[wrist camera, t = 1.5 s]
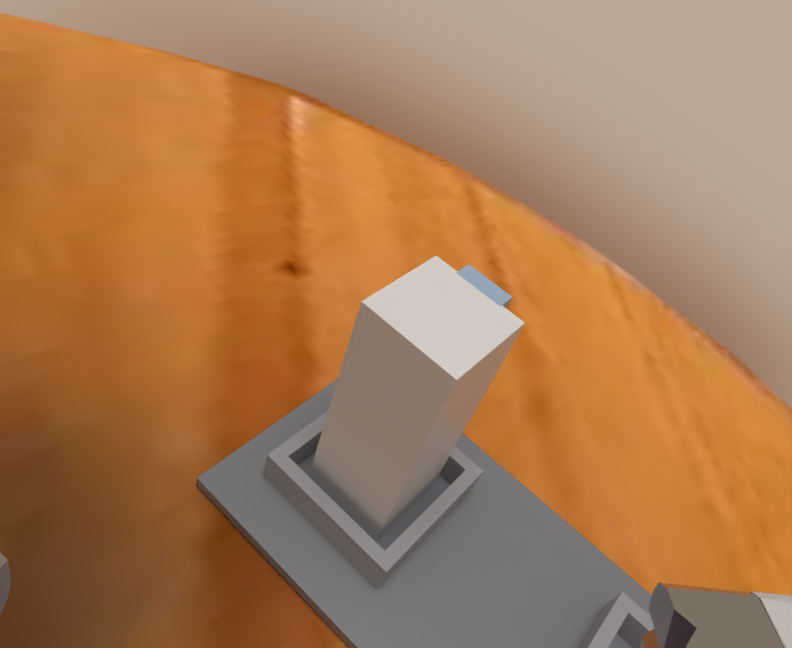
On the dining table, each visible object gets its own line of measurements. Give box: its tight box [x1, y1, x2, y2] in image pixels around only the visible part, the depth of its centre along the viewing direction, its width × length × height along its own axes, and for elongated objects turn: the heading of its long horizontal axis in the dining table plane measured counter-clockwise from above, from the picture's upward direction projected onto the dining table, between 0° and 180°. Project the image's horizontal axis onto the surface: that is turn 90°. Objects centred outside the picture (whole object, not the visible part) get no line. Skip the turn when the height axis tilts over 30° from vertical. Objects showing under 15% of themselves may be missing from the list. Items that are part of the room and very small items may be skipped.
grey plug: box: [308, 256, 525, 542], centre depth 26 cm, size 4×5×11 cm
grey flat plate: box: [196, 379, 654, 648], centre depth 27 cm, size 24×11×2 cm, turn 49°
